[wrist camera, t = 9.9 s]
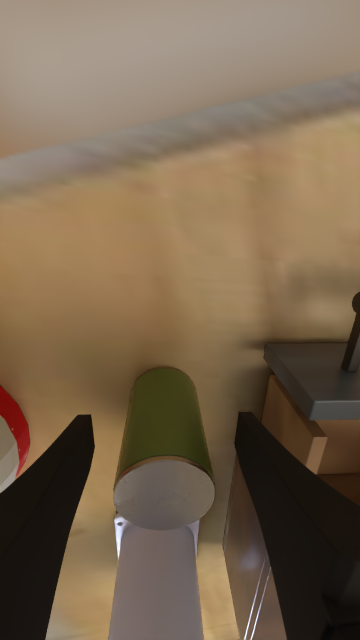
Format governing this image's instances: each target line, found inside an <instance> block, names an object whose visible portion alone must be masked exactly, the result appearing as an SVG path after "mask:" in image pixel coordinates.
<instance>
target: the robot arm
mask: <svg viewBox="0 0 360 640" xmlns="http://www.w3.org/2000/svg"><path fill="white" fill-rule="evenodd" d="M234 444H235V448H236V453H237V457H238V461H239V465H240V468H241V471H242V474H243V477H244V480H245V482H246V485H247V488H248V491H249V494H250V497H251V499H252V502H253V505H254V508H255V511H256V514H257V517H258V520H259V523H260V527H261V531H262V534H263V538H264V542H265V546H266V550H267V554H268V558H269V562H270V566H271V570H272V574H273V579H274V583H275V587H276V592H277V596H278V601H279V605H280V609H281V614H282V619H283V623H284V628H285V633H286V638H287V640H360V506H359V505H358V504H356V503H355V502H353V501H352V500H350V499H349V498H347V497H346V496H344V495H343V494H341V493H340V492H339V491H337V490H336V489H334V488H333V487H331V486H330V485H329V484H327V483H326V482H325V481H323V480H322V479H321V478H319V477H318V476H317V475H316V474H315V473H313V472H312V471H311V470H310V469H308V468H307V467H306V466H305V465H304V464H302V463H301V462H300V461H299V460H298V459H297V458H296V457H295V456H293V455H292V454H291V453H290V452H289V451H288V450H287V449H286V448H285V447H284V446H283V445H282V444H281V443H280V442H279V441H278V440H277V439H276V438H275V437H274V436H273V435H272V434H271V433H270V432H269V431H268V430H267V428H266V427H265V426H264V425H263V424H262V423H261V422H260V421H259V420H258V419H257V418H256V416H255V415H254V414H253V413H252V412H239V414H238V421H237V428H236V435H235V443H234ZM94 449H95V444H94V435H93V427H92V418H91V414H90V415H77V416H76V417H75V418H74V420H73V421H72V422H71V423H70V424H69V425H68V427H67V428H66V429H65V430H64V431H63V432H62V434H61V435H60V436H59V437H58V438H57V439H56V440H55V441H54V442H53V443H52V445H51V446H50V447H49V448H48V449H47V450H46V451H45V452H44V453H43V454H42V455H41V456H40V457H39V458H38V459H37V460H36V461H35V462H34V463H33V464H32V465H31V466H30V467H29V468H28V469H27V470H26V471H25V472H24V473H23V474H22V475H21V476H20V477H18V478H17V479H16V480H15V481H14V482H13V483H12V484H10V485H9V486H8V487H7V488H6V489H5V490H3V491H2V492H1V493H0V640H45V638H46V633H47V628H48V623H49V619H50V614H51V610H52V605H53V600H54V596H55V591H56V587H57V582H58V578H59V574H60V569H61V565H62V561H63V557H64V553H65V548H66V544H67V540H68V536H69V532H70V529H71V526H72V522H73V519H74V516H75V513H76V510H77V507H78V504H79V501H80V498H81V495H82V492H83V489H84V486H85V483H86V480H87V477H88V474H89V471H90V467H91V463H92V458H93V453H94ZM199 521H200V519H198V520H197V521H195V522H193V523H191V524H189V525H187V526H184V527H181V528H177V529H172V530H150V529H145V528H141V527H138V526H135V525H133V524H131V523H130V522H128V521H126V520H125V519H124V518H123V517H122V516H121V515H120V514H119V513H117V514H116V515H115V519H114V523H115V534H116V545H117V556H118V566H117V574H116V581H115V589H114V597H113V605H112V612H111V620H110V628H109V636H108V640H204V636H203V626H202V616H201V606H200V596H199V585H198V575H197V565H196V554H197V543H198V532H199Z"/></svg>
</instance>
